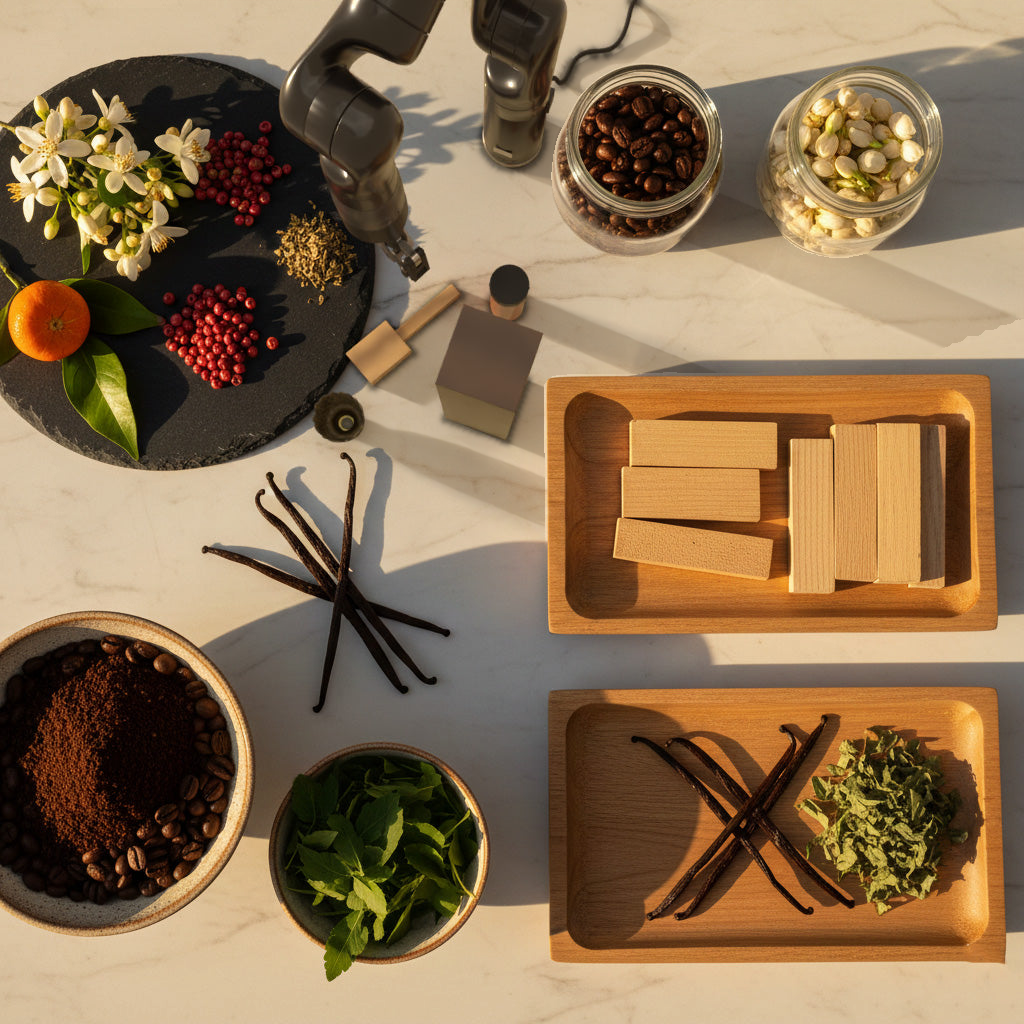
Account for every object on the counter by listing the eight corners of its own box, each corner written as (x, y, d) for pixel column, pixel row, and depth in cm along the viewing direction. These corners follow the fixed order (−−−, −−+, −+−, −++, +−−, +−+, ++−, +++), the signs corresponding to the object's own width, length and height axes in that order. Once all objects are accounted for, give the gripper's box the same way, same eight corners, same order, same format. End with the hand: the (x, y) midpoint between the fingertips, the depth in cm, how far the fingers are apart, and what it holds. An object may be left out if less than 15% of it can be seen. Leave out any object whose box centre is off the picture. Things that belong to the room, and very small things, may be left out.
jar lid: (497, 262, 116) (497, 258, 114) (534, 276, 116) (535, 272, 114) (483, 299, 116) (483, 295, 114) (521, 312, 116) (521, 309, 114)
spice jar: (496, 283, 125) (498, 262, 115) (528, 295, 125) (532, 274, 115) (485, 314, 125) (486, 295, 115) (516, 326, 125) (520, 308, 115)
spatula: (468, 305, 125) (468, 302, 123) (372, 385, 124) (371, 383, 122) (443, 276, 125) (443, 272, 123) (347, 356, 124) (345, 353, 122)
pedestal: (467, 358, 125) (463, 303, 94) (527, 380, 125) (543, 333, 94) (445, 418, 124) (434, 383, 94) (505, 440, 125) (515, 412, 94)
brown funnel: (365, 452, 124) (357, 447, 116) (318, 442, 124) (307, 436, 116) (375, 405, 124) (368, 396, 116) (328, 395, 124) (318, 386, 116)
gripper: (440, 220, 85) (447, 267, 102) (349, 121, 85) (370, 184, 101) (389, 267, 85) (404, 307, 101) (297, 168, 85) (326, 224, 101)
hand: (387, 245), depth 101 cm, fingers open, 8 cm apart
